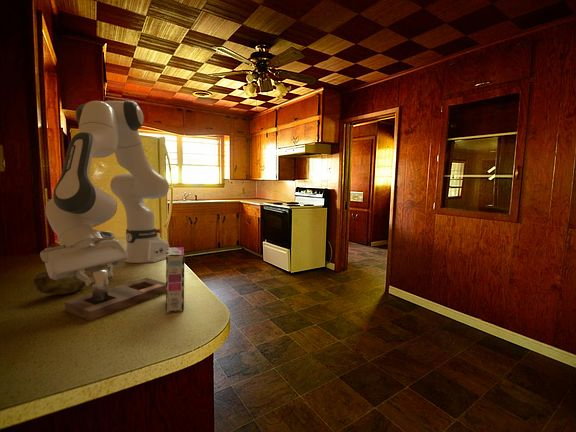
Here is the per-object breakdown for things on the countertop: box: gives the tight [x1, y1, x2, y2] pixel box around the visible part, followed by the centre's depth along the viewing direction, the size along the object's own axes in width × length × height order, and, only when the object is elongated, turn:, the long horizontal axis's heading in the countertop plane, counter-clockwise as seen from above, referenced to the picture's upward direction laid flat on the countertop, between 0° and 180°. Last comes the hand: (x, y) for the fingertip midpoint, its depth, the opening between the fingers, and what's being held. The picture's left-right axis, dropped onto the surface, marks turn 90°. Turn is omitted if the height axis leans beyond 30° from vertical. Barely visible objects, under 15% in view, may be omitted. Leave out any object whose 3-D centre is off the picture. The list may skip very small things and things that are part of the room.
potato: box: [33, 270, 86, 296], centre depth 92 cm, size 8×13×8 cm, turn 128°
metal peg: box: [90, 268, 110, 301], centre depth 83 cm, size 4×4×8 cm
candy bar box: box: [165, 246, 185, 313], centre depth 86 cm, size 11×5×16 cm, turn 21°
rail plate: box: [64, 277, 166, 322], centre depth 89 cm, size 25×12×3 cm, turn 152°
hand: (101, 281), depth 83 cm, fingers closed on metal peg, 4 cm apart
